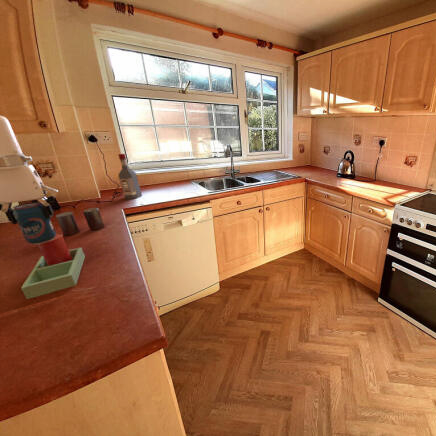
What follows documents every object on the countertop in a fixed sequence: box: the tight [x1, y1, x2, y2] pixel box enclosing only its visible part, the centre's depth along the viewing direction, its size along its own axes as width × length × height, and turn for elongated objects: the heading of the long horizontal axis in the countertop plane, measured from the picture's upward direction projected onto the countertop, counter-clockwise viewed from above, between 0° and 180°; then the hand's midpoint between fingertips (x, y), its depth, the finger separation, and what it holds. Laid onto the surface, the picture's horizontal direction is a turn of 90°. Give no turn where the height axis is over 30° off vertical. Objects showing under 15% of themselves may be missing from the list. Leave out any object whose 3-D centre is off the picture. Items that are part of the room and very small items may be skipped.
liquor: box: [118, 153, 143, 200], centre depth 168 cm, size 9×9×30 cm
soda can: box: [12, 201, 57, 245], centre depth 76 cm, size 7×7×12 cm
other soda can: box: [37, 233, 73, 266], centre depth 86 cm, size 7×7×12 cm
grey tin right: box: [82, 207, 106, 232], centre depth 121 cm, size 6×6×10 cm
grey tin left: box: [55, 211, 81, 237], centre depth 116 cm, size 6×6×10 cm
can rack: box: [20, 247, 86, 300], centre depth 83 cm, size 12×22×5 cm, turn 32°
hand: (33, 219), depth 75 cm, fingers closed on soda can, 7 cm apart
